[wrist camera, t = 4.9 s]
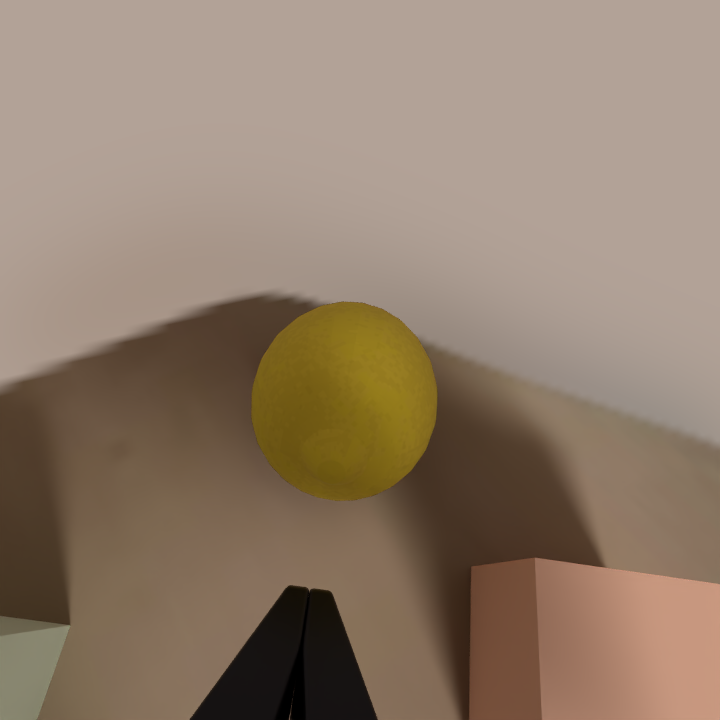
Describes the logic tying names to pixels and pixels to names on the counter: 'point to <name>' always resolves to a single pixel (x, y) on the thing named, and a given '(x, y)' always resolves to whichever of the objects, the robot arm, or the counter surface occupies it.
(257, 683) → the robot arm
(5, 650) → the sage block
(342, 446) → the lemon
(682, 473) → the counter surface
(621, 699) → the terracotta block
